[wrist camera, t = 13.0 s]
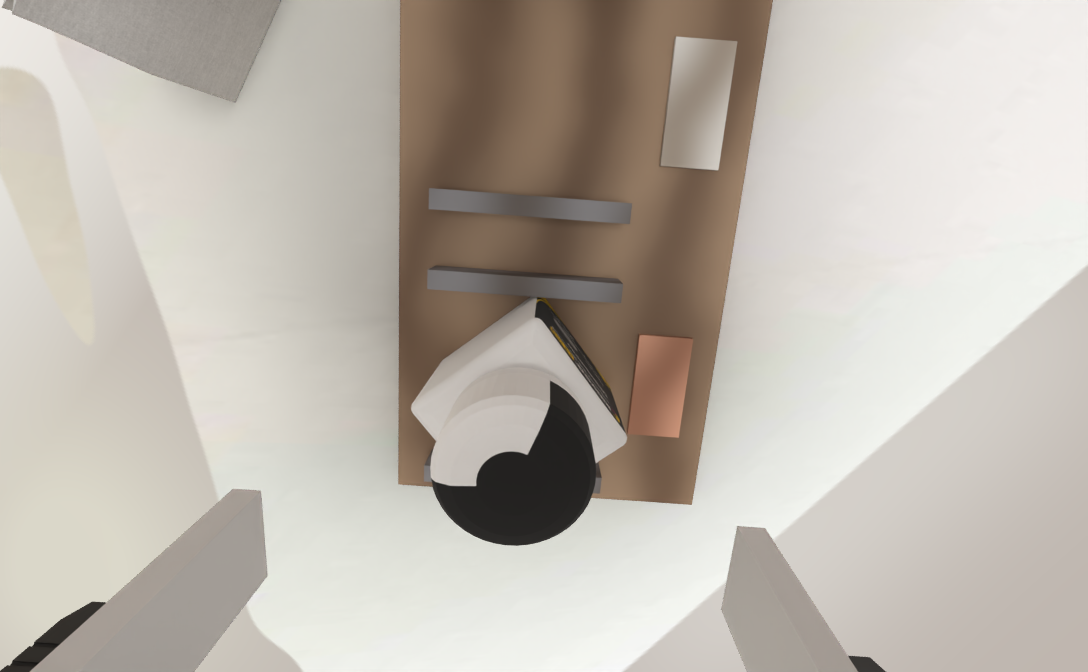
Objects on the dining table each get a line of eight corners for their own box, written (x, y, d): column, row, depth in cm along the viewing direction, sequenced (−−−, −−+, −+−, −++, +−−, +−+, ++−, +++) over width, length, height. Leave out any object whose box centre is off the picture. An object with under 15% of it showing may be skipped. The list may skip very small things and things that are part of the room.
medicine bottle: (612, 388, 30) (653, 505, 18) (513, 454, 31) (492, 604, 19) (539, 289, 28) (534, 346, 17) (438, 361, 29) (367, 462, 18)
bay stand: (773, -50, 25) (803, -84, 22) (687, 495, 32) (701, 524, 30) (406, -80, 25) (387, -117, 22) (402, 475, 32) (388, 502, 29)
